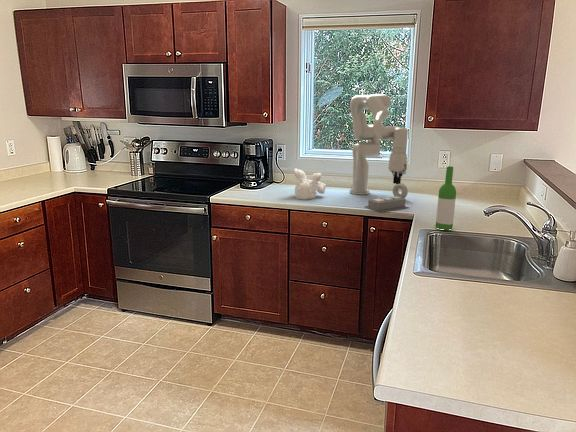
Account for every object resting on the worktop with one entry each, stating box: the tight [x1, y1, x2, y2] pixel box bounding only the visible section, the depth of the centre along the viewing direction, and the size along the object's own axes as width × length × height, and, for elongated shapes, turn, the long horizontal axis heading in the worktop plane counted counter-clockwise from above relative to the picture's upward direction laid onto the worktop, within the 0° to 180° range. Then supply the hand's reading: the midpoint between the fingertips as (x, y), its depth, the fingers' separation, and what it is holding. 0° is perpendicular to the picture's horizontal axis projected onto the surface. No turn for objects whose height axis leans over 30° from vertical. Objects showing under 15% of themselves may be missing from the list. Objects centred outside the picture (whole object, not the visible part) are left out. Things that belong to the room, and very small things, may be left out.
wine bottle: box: [435, 165, 457, 230], centre depth 226 cm, size 8×8×30 cm
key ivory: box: [372, 198, 384, 203], centre depth 266 cm, size 4×4×3 cm
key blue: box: [381, 196, 393, 201], centre depth 269 cm, size 4×4×3 cm
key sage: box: [389, 195, 401, 200], centre depth 272 cm, size 4×4×3 cm
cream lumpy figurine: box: [293, 167, 327, 201], centre depth 292 cm, size 19×20×20 cm
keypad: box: [363, 196, 410, 214], centre depth 269 cm, size 14×20×5 cm
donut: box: [392, 183, 409, 199], centre depth 289 cm, size 10×4×10 cm, turn 43°
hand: (396, 183), depth 270 cm, fingers closed
